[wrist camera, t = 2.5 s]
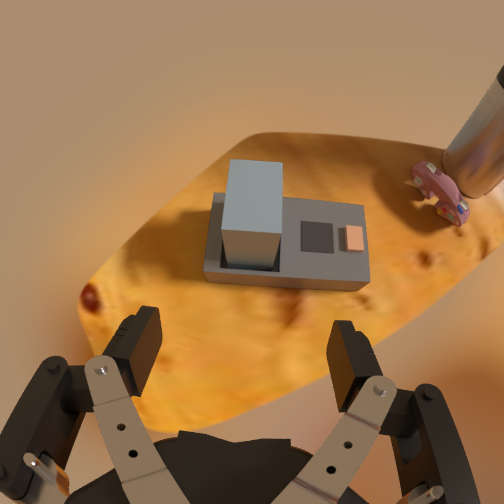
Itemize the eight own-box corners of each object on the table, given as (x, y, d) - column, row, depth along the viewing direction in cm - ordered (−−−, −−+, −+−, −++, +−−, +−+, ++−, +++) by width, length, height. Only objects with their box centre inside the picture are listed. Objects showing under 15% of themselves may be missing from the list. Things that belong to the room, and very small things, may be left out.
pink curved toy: (400, 183, 35) (408, 165, 29) (420, 163, 34) (430, 143, 28) (447, 237, 33) (464, 230, 26) (466, 216, 32) (485, 204, 25)
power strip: (352, 220, 31) (365, 202, 27) (357, 291, 28) (372, 280, 24) (216, 210, 31) (213, 189, 27) (207, 282, 28) (201, 269, 25)
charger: (273, 215, 29) (282, 162, 22) (271, 272, 27) (281, 233, 19) (234, 212, 29) (230, 159, 22) (228, 269, 27) (221, 229, 19)
